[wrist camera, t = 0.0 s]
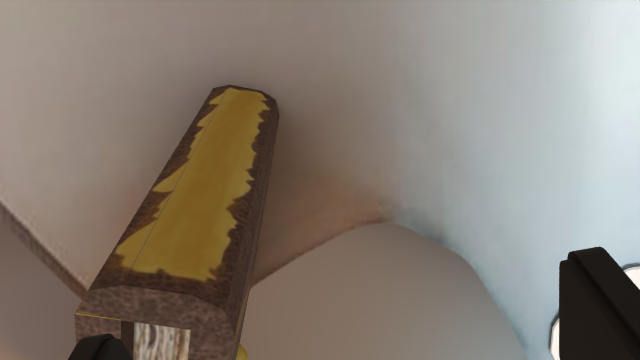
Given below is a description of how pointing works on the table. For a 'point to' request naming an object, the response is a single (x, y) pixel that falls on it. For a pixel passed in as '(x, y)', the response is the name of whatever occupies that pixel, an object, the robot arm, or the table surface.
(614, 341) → the robot arm
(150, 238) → the book
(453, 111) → the table surface
